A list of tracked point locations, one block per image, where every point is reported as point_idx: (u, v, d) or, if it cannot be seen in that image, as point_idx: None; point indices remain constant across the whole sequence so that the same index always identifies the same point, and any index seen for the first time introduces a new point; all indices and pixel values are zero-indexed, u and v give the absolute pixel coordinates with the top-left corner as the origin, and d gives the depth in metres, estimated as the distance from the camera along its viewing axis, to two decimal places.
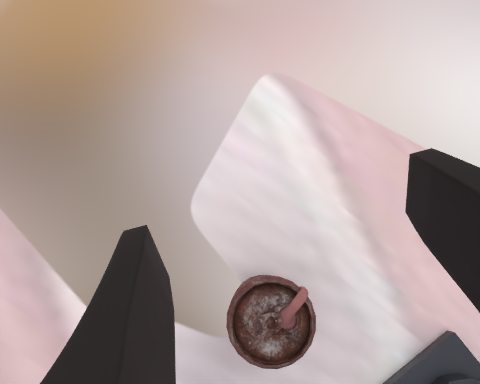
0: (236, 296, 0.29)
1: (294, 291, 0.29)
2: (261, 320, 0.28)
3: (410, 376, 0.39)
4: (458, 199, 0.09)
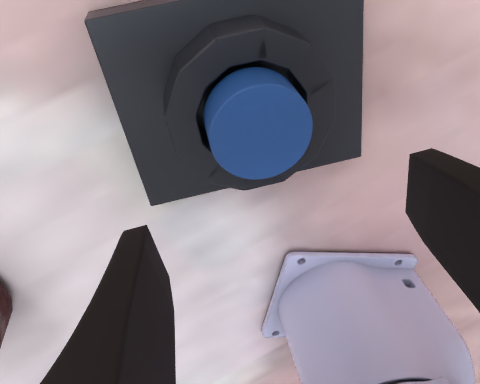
0: None
1: None
2: None
3: (142, 151, 0.19)
4: (458, 199, 0.09)
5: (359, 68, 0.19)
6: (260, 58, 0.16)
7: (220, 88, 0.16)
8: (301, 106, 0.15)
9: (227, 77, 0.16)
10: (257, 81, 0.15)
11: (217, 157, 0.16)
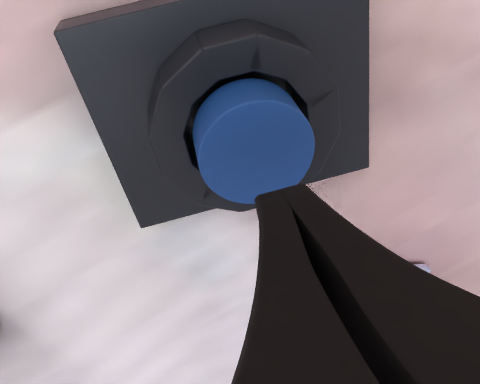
0: None
1: None
2: None
3: (127, 171, 0.17)
4: (307, 241, 0.09)
5: (365, 73, 0.17)
6: (253, 69, 0.14)
7: (209, 105, 0.14)
8: (301, 123, 0.14)
9: (217, 90, 0.14)
10: (250, 97, 0.13)
11: (208, 182, 0.14)
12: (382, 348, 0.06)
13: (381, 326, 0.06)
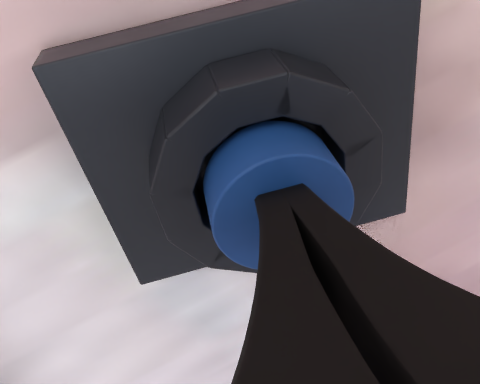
0: None
1: None
2: None
3: (124, 224, 0.15)
4: (307, 240, 0.09)
5: (409, 109, 0.14)
6: (281, 114, 0.11)
7: (225, 155, 0.11)
8: (339, 179, 0.11)
9: (234, 136, 0.12)
10: (277, 149, 0.11)
11: (222, 249, 0.12)
12: (382, 348, 0.06)
13: (381, 326, 0.06)
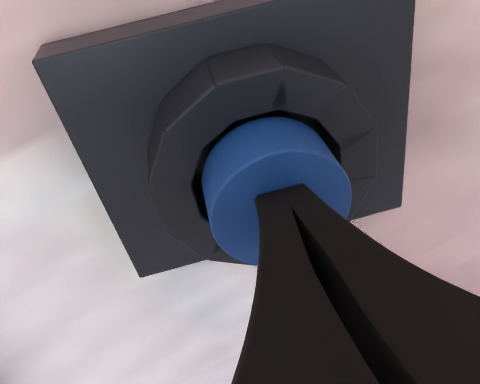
0: None
1: None
2: None
3: (124, 218, 0.15)
4: (307, 240, 0.09)
5: (404, 103, 0.14)
6: (277, 107, 0.11)
7: (223, 151, 0.11)
8: (337, 175, 0.11)
9: (232, 132, 0.12)
10: (275, 144, 0.11)
11: (221, 244, 0.12)
12: (382, 348, 0.06)
13: (381, 326, 0.06)
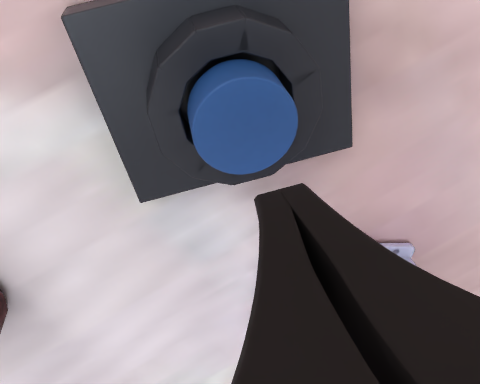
0: None
1: None
2: None
3: (127, 148, 0.19)
4: (307, 240, 0.09)
5: (347, 57, 0.18)
6: (242, 50, 0.15)
7: (202, 83, 0.15)
8: (285, 98, 0.15)
9: (209, 70, 0.16)
10: (238, 74, 0.15)
11: (201, 153, 0.16)
12: (382, 348, 0.06)
13: (381, 326, 0.06)
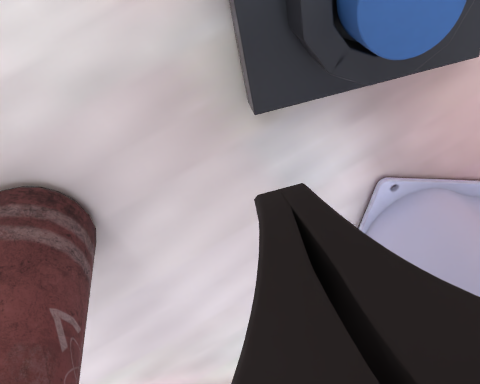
0: None
1: None
2: None
3: (253, 46, 0.18)
4: (307, 240, 0.09)
5: None
6: None
7: None
8: None
9: None
10: None
11: (362, 29, 0.14)
12: (382, 348, 0.06)
13: (381, 326, 0.06)
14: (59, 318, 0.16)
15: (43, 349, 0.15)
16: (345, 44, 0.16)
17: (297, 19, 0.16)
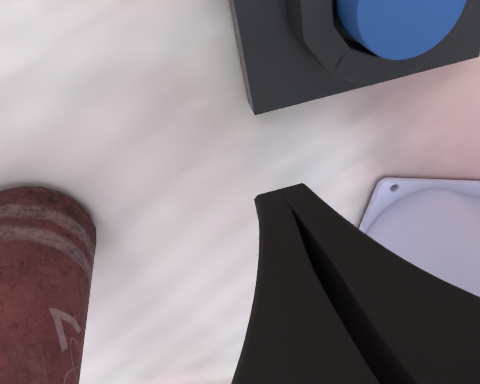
0: None
1: None
2: None
3: (253, 46, 0.18)
4: (307, 240, 0.09)
5: None
6: None
7: None
8: None
9: None
10: None
11: (362, 29, 0.14)
12: (382, 348, 0.06)
13: (381, 326, 0.06)
14: (59, 318, 0.16)
15: (43, 349, 0.15)
16: (345, 44, 0.16)
17: (297, 19, 0.16)
